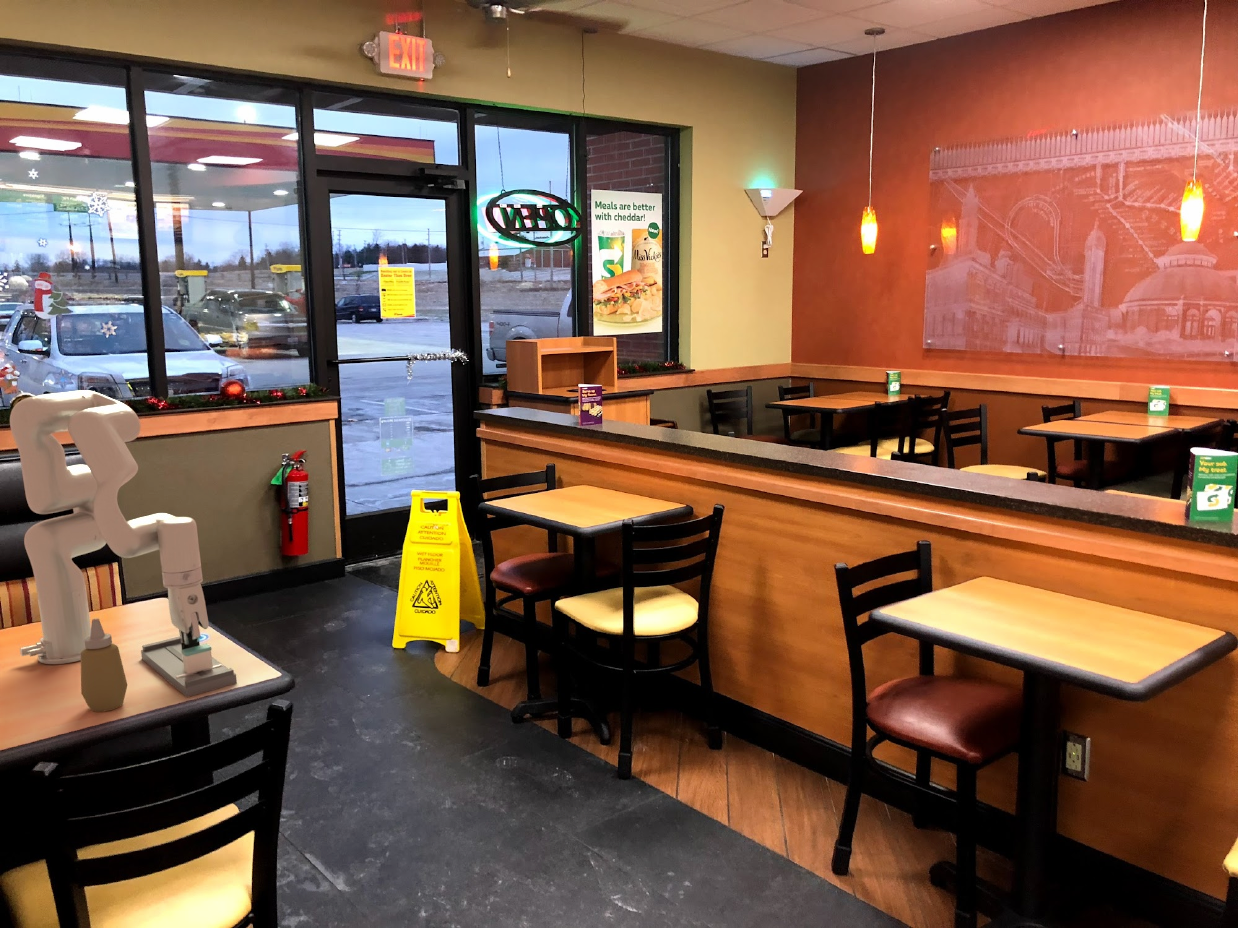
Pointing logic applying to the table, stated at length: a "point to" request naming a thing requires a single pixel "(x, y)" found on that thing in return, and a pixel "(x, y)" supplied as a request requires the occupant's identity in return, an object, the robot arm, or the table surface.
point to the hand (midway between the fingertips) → (192, 659)
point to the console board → (171, 667)
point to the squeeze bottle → (102, 671)
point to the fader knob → (197, 658)
